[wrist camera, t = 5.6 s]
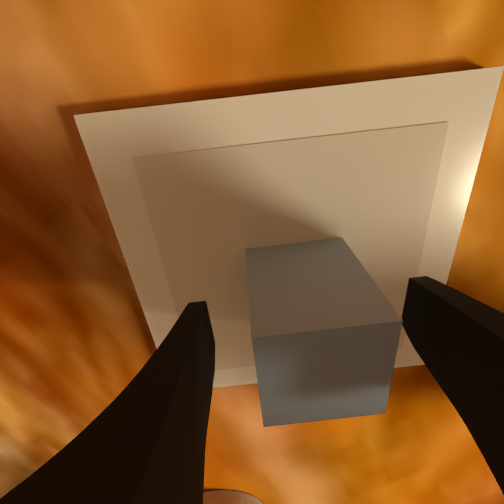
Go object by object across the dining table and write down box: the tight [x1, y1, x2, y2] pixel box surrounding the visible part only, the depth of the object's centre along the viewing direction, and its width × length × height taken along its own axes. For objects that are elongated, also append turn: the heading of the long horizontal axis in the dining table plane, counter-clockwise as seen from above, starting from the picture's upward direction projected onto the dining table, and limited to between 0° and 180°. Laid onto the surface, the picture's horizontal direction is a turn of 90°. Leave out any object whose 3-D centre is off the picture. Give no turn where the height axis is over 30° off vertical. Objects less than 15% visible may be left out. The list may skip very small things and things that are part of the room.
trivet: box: [73, 66, 504, 388], centre depth 13 cm, size 14×14×1 cm
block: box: [245, 238, 403, 427], centre depth 11 cm, size 4×4×5 cm
